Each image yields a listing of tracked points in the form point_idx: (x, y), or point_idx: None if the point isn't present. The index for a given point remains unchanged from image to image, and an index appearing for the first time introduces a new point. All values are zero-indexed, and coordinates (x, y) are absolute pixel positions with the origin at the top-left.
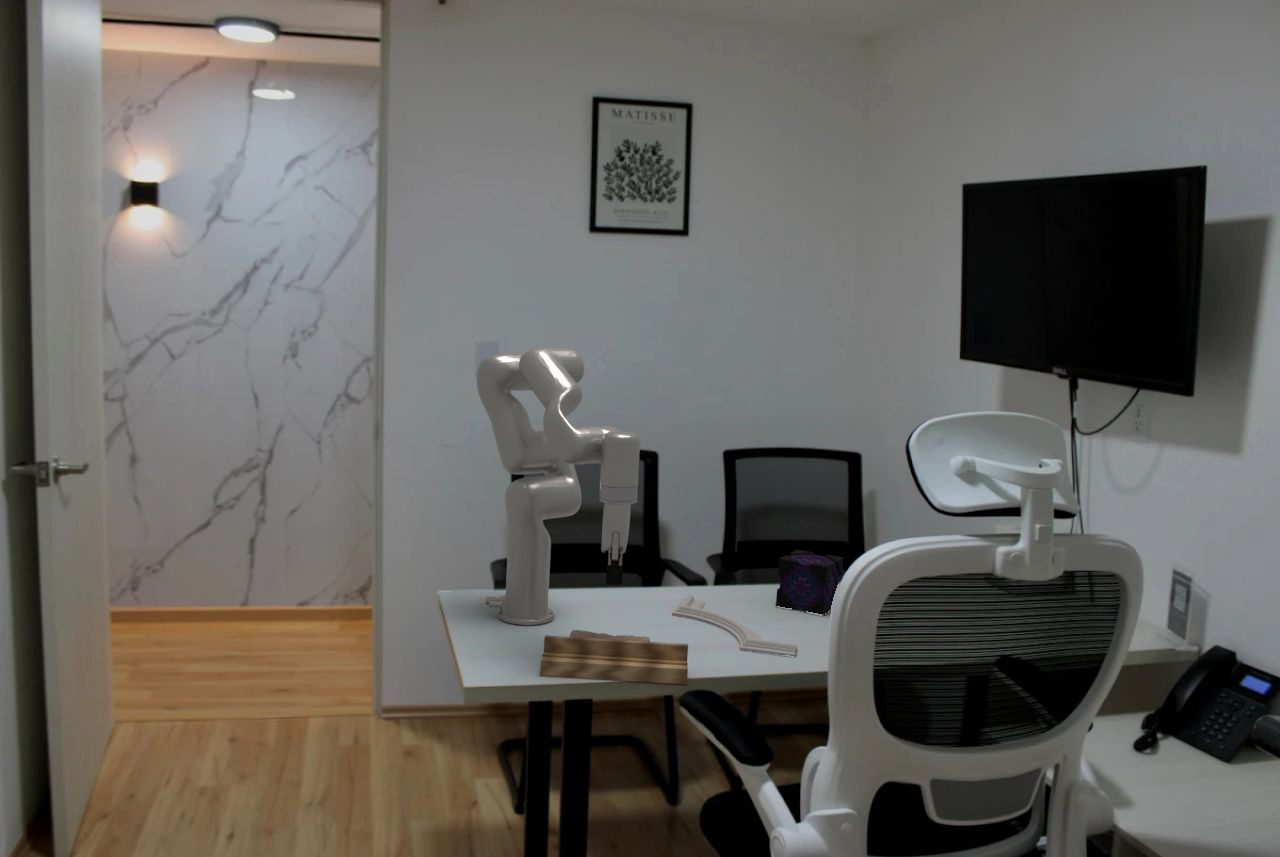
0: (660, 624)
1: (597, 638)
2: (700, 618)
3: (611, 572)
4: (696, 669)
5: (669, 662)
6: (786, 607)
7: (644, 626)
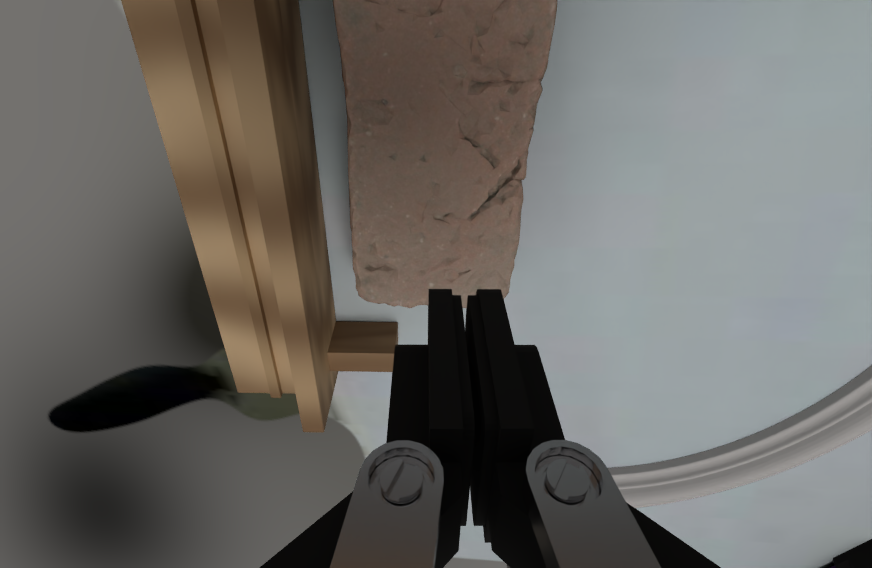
0: (811, 311)
1: (444, 106)
2: (814, 414)
3: (390, 408)
4: (383, 383)
5: (261, 356)
6: (849, 554)
7: (804, 263)
